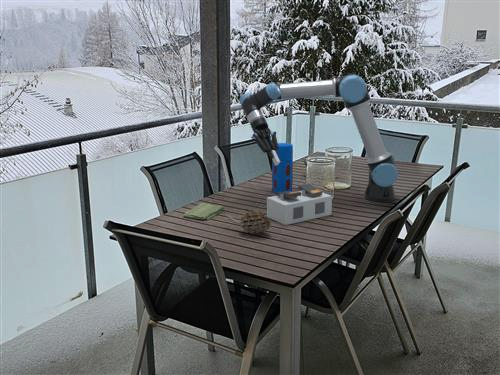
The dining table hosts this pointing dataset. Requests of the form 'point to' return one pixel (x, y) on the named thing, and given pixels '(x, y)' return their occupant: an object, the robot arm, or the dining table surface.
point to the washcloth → (204, 211)
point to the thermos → (283, 169)
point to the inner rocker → (310, 190)
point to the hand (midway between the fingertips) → (277, 163)
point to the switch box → (298, 207)
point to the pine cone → (253, 222)
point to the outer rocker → (289, 194)
